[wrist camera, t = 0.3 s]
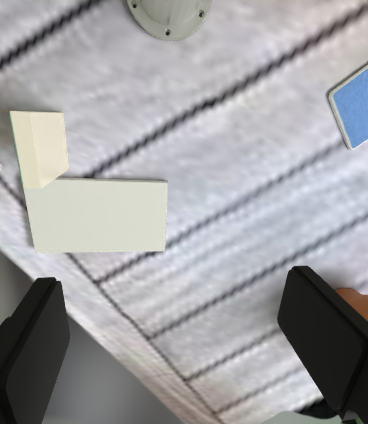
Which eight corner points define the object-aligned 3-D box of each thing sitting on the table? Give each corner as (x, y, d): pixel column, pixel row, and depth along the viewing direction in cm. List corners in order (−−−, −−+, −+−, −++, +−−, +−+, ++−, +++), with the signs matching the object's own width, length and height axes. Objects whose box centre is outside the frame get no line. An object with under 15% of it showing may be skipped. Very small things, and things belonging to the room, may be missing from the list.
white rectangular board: (26, 176, 41) (21, 178, 40) (167, 180, 45) (168, 182, 43) (38, 248, 46) (35, 252, 45) (164, 247, 50) (164, 251, 49)
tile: (47, 111, 38) (6, 110, 27) (63, 112, 38) (29, 112, 27) (54, 168, 41) (21, 188, 30) (69, 169, 42) (40, 188, 31)
